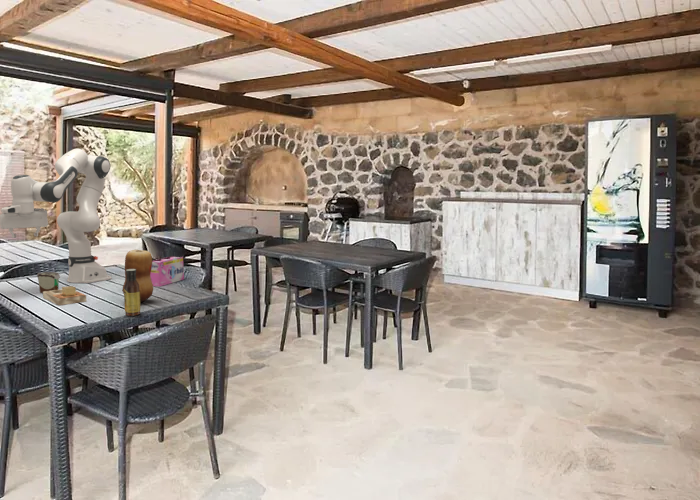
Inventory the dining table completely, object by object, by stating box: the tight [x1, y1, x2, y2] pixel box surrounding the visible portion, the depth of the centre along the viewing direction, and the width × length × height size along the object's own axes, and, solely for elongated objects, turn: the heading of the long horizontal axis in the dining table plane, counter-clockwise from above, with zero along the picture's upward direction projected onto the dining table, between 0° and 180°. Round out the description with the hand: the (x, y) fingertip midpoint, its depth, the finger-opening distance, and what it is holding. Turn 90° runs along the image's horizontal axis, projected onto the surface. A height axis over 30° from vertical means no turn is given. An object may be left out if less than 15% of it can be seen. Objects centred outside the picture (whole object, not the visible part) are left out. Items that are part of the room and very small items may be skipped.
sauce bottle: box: [123, 269, 141, 317], centre depth 221 cm, size 7×6×20 cm
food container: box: [36, 271, 61, 294], centre depth 260 cm, size 12×6×10 cm, turn 71°
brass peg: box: [61, 285, 77, 297], centre depth 242 cm, size 4×4×7 cm
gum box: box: [150, 255, 185, 288], centre depth 292 cm, size 24×8×14 cm, turn 163°
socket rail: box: [42, 288, 87, 306], centre depth 246 cm, size 12×21×3 cm, turn 47°
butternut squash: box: [122, 249, 154, 303], centre depth 243 cm, size 14×13×25 cm
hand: (25, 237), depth 252 cm, fingers open, 8 cm apart
